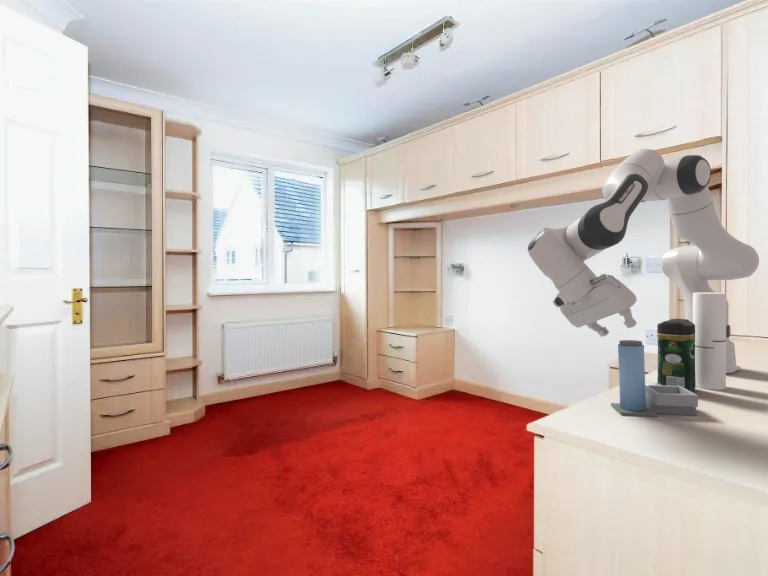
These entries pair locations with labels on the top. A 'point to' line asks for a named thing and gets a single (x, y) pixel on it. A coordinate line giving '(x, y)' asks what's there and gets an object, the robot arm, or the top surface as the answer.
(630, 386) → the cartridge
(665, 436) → the top surface
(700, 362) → the cylindrical container
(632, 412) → the mat
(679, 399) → the frame
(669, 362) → the coffee jar
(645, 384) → the white rounded piece
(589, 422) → the top surface
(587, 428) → the top surface
